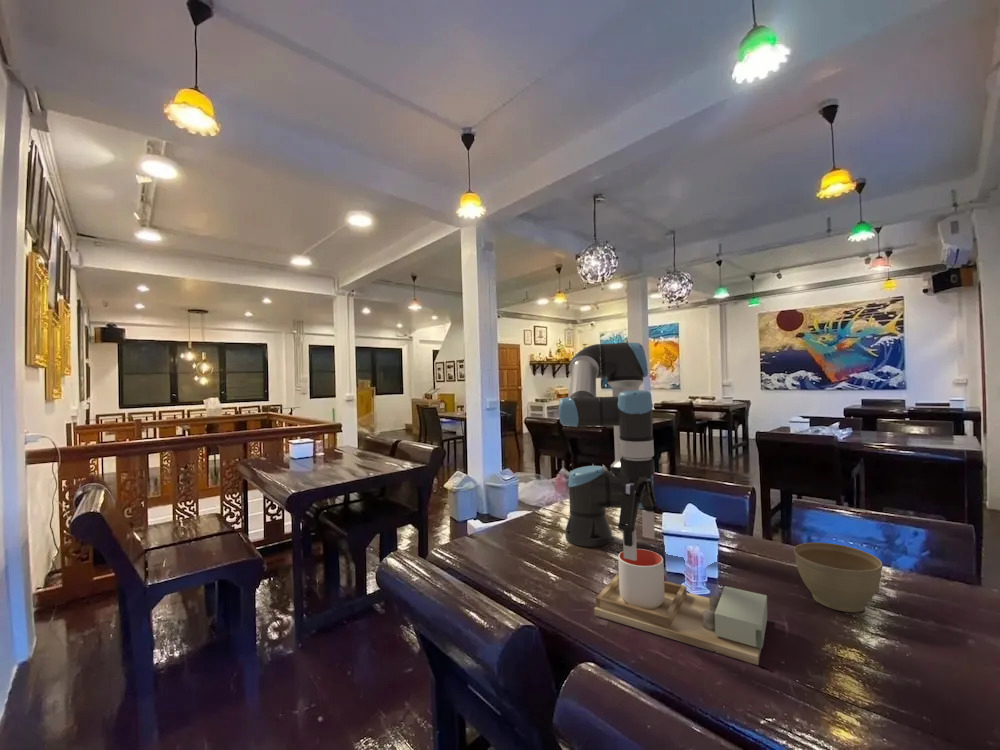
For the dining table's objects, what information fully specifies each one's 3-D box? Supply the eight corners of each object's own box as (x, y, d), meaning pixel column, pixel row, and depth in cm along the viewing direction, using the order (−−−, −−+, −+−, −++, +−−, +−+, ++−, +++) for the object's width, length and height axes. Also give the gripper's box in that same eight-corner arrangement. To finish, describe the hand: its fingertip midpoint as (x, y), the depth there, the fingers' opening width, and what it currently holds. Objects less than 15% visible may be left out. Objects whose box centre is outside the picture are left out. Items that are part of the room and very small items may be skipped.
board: (622, 582, 113) (621, 565, 113) (766, 618, 95) (765, 597, 95) (594, 615, 99) (593, 595, 99) (758, 665, 80) (757, 640, 80)
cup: (668, 613, 96) (666, 567, 96) (621, 610, 98) (619, 565, 98) (661, 590, 105) (659, 549, 105) (618, 588, 107) (616, 547, 107)
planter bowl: (863, 589, 105) (862, 544, 105) (900, 627, 90) (898, 574, 90) (786, 581, 111) (785, 539, 111) (808, 615, 95) (806, 566, 95)
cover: (725, 605, 97) (724, 586, 97) (767, 616, 93) (766, 595, 93) (715, 635, 87) (714, 613, 87) (762, 648, 82) (761, 625, 82)
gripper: (637, 446, 114) (640, 527, 114) (600, 467, 93) (604, 565, 94) (667, 448, 109) (670, 532, 110) (635, 470, 89) (639, 573, 90)
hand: (640, 547), depth 102 cm, fingers open, 13 cm apart
